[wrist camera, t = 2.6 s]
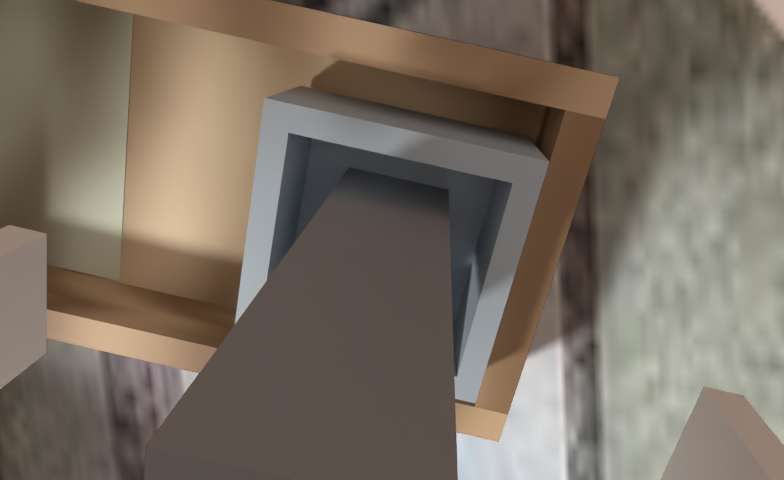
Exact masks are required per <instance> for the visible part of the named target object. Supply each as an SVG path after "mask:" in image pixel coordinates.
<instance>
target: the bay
mask: <svg viewBox="0 0 784 480" xmlns="http://www.w3.org/2000/svg"><path fill="white" fill-rule="evenodd" d="M618 80H619V77H614V76H610V75H605V74H601V73H597V72H592V71H588V70H583V69H579V68H574V67H570V66H565V65H561V64H556V63H552V62H547V61H543V60H538V59H534V58H529V57H525V56H520V55H516V54H511V53H507V52H502V51H498V50H493V49H489V48H484V47H480V46H475V45H471V44H466V43H462V42H457V41H453V40H448V39H444V38H439V37H435V36H430V35H426V34H421V33H417V32H412V31H408V30H403V29H399V28H394V27H390V26H385V25H381V24H376V23H372V22H367V21H363V20H358V19H354V18H349V17H345V16H340V15H336V14H331V13H327V12H322V11H318V10H313V9H309V8H304V7H300V6H295V5H291V4H286V3H282V2H277V1H273V0H0V229H1V228H3V227H6V226H8V225H12V226H16V227H20V228H25V229H29V230H33V231H38V232H42V233H46V234H47V338H48V339H52V340H57V341H61V342H65V343H70V344H74V345H79V346H83V347H87V348H92V349H96V350H100V351H105V352H109V353H113V354H118V355H122V356H127V357H131V358H135V359H140V360H144V361H148V362H153V363H157V364H161V365H166V366H170V367H174V368H179V369H183V370H188V371H192V372H196V373H200V372H201V370H202V369H203V367H204V366H205V365H206V363H207V362H208V361H209V359H210V358H211V356H212V355H213V354H214V352H215V351H216V350H217V348H218V347H219V345H220V344H221V343H222V341H223V340H224V339H225V337H226V336H227V335H228V333H229V332H230V330H231V329H232V328H233V326H234V325H235V318H236V311H237V303H238V295H239V288H240V280H241V272H242V265H243V257H244V249H245V242H246V234H247V226H248V219H249V211H250V203H251V196H252V188H253V180H254V173H255V165H256V157H257V150H258V142H259V134H260V127H261V119H262V112H263V104H264V98H265V97H268V96H271V95H274V94H277V93H280V92H283V91H286V90H289V89H292V88H295V87H298V86H305V87H310V88H314V89H319V90H323V91H328V92H332V93H337V94H341V95H346V96H350V97H355V98H359V99H364V100H368V101H373V102H377V103H381V104H386V105H390V106H395V107H399V108H404V109H408V110H413V111H417V112H422V113H426V114H431V115H435V116H440V117H444V118H449V119H453V120H457V121H462V122H466V123H471V124H475V125H480V126H484V127H489V128H493V129H498V130H502V131H507V132H511V133H516V134H520V135H524V136H528V137H529V138H530V140H531V141H532V142H533V143H534V144H535V145H536V147H537V148H538V149H539V150H540V151H541V152H542V154H543V155H544V156H545V157H546V158H547V159H548V161H549V165H548V168H547V171H546V175H545V178H544V181H543V184H542V188H541V191H540V194H539V198H538V201H537V204H536V207H535V211H534V214H533V217H532V220H531V224H530V227H529V230H528V233H527V237H526V240H525V243H524V247H523V250H522V253H521V256H520V260H519V263H518V266H517V269H516V273H515V276H514V279H513V282H512V286H511V289H510V292H509V296H508V299H507V302H506V305H505V309H504V312H503V315H502V318H501V322H500V325H499V328H498V331H497V335H496V338H495V341H494V345H493V348H492V351H491V354H490V358H489V361H488V364H487V367H486V371H485V374H484V377H483V380H482V384H481V387H480V390H479V394H478V397H477V400H476V403H471V402H467V401H462V400H458V399H455V413H456V432H458V433H462V434H467V435H471V436H475V437H480V438H484V439H489V440H493V441H497V442H499V439H500V436H501V433H502V430H503V427H504V424H505V421H506V418H507V415H508V412H509V409H510V406H511V403H512V400H513V397H514V394H515V391H516V388H517V385H518V382H519V379H520V376H521V373H522V370H523V367H524V364H525V361H526V358H527V355H528V352H529V349H530V346H531V343H532V340H533V337H534V334H535V331H536V328H537V325H538V322H539V319H540V316H541V313H542V310H543V307H544V304H545V301H546V298H547V295H548V292H549V289H550V286H551V283H552V280H553V277H554V273H555V270H556V267H557V264H558V261H559V258H560V255H561V252H562V249H563V246H564V243H565V240H566V237H567V234H568V231H569V228H570V225H571V222H572V219H573V216H574V213H575V210H576V207H577V204H578V201H579V198H580V195H581V192H582V189H583V186H584V183H585V180H586V177H587V174H588V171H589V168H590V165H591V162H592V159H593V156H594V153H595V150H596V147H597V144H598V141H599V138H600V135H601V132H602V129H603V126H604V123H605V120H606V117H607V114H608V111H609V108H610V104H611V101H612V98H613V95H614V92H615V89H616V86H617V83H618Z"/></svg>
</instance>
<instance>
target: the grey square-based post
mask: <svg viewBox="0 0 784 480" xmlns="http://www.w3.org/2000/svg"><path fill="white" fill-rule="evenodd" d="M548 165H549V161H548V159H547V158H546V157H545V156H544V155H543V154H542V152H541V151H540V150H539V149H538V148H537V147H536V145H535V144H534V143H533V142H532V141H531V140H530V138H529V137H528V136H524V135H520V134H516V133H511V132H507V131H502V130H498V129H493V128H489V127H484V126H480V125H475V124H471V123H466V122H462V121H457V120H453V119H449V118H444V117H440V116H435V115H431V114H426V113H422V112H417V111H413V110H408V109H404V108H399V107H395V106H390V105H386V104H381V103H377V102H373V101H368V100H364V99H359V98H355V97H350V96H346V95H341V94H337V93H332V92H328V91H323V90H319V89H314V88H310V87H305V86H298V87H295V88H292V89H289V90H286V91H283V92H280V93H277V94H274V95H271V96H268V97H265V98H264V104H263V112H262V119H261V127H260V134H259V142H258V150H257V157H256V165H255V173H254V180H253V188H252V196H251V203H250V211H249V219H248V226H247V234H246V242H245V249H244V257H243V265H242V272H241V280H240V288H239V295H238V303H237V311H236V318H235V325H234V326H233V328H232V329H231V330H230V332H229V333H228V335H227V336H226V337H225V339H224V340H223V341H222V343H221V344H220V345H219V347H218V348H217V350H216V351H215V352H214V354H213V355H212V356H211V358H210V359H209V361H208V362H207V363H206V365H205V366H204V367H203V369H202V370H201V372H200V373H199V374H198V376H197V377H196V378H195V380H194V381H193V383H192V384H191V385H190V387H189V388H188V389H187V391H186V392H185V393H184V395H183V396H182V398H181V399H180V400H179V402H178V403H177V404H176V406H175V407H174V409H173V410H172V411H171V413H170V414H169V415H168V417H167V418H166V420H165V421H164V422H163V424H162V425H161V426H160V428H159V429H158V431H157V432H156V433H155V435H154V436H153V437H152V439H151V440H150V442H149V443H148V444H147V446H146V455H145V468H144V480H458V476H457V444H456V413H455V399H458V400H462V401H467V402H471V403H476V400H477V397H478V394H479V390H480V387H481V384H482V380H483V377H484V374H485V371H486V367H487V364H488V361H489V358H490V354H491V351H492V348H493V345H494V341H495V338H496V335H497V331H498V328H499V325H500V322H501V318H502V315H503V312H504V309H505V305H506V302H507V299H508V296H509V292H510V289H511V286H512V282H513V279H514V276H515V273H516V269H517V266H518V263H519V260H520V256H521V253H522V250H523V247H524V243H525V240H526V237H527V233H528V230H529V227H530V224H531V220H532V217H533V214H534V211H535V207H536V204H537V201H538V198H539V194H540V191H541V188H542V184H543V181H544V178H545V175H546V171H547V168H548Z"/></svg>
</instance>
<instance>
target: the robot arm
mask: <svg viewBox="0 0 784 480" xmlns="http://www.w3.org/2000/svg"><path fill="white" fill-rule="evenodd" d="M46 353H47V234H46V233H42V232H38V231H33V230H29V229H25V228H20V227H16V226H12V225H8V226H6V227H3V228H1V229H0V389H1V388H2V387H4V386H5V385H6V384H7V383H9V382H10V381H11V380H13V379H14V378H15V377H16V376H18V375H19V374H20V373H22V372H23V371H24V370H25V369H27V368H28V367H29V366H30V365H32V364H33V363H34V362H36V361H37V360H38V359H39V358H41V357H42V356H43V355H44V354H46ZM661 480H784V445H783V444H782V443H781V442H780V440H779V439H778V438H777V437H776V435H775V434H774V433H773V432H772V430H771V429H770V428H769V427H768V426H767V424H766V423H765V422H764V421H763V419H762V418H761V417H760V416H759V414H758V413H757V412H756V411H755V409H754V408H753V407H752V406H751V405H750V403H749V402H748V401H747V400H746V398H745V397H744V396H743V395H738V394H734V393H730V392H725V391H721V390H717V389H713V388H708V387H704V388H703V390H702V392H701V394H700V396H699V398H698V400H697V403H696V405H695V407H694V409H693V411H692V413H691V415H690V418H689V420H688V422H687V424H686V426H685V428H684V430H683V433H682V435H681V437H680V439H679V441H678V443H677V445H676V448H675V450H674V452H673V454H672V456H671V458H670V461H669V463H668V465H667V467H666V469H665V471H664V473H663V476H662V478H661Z"/></svg>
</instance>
